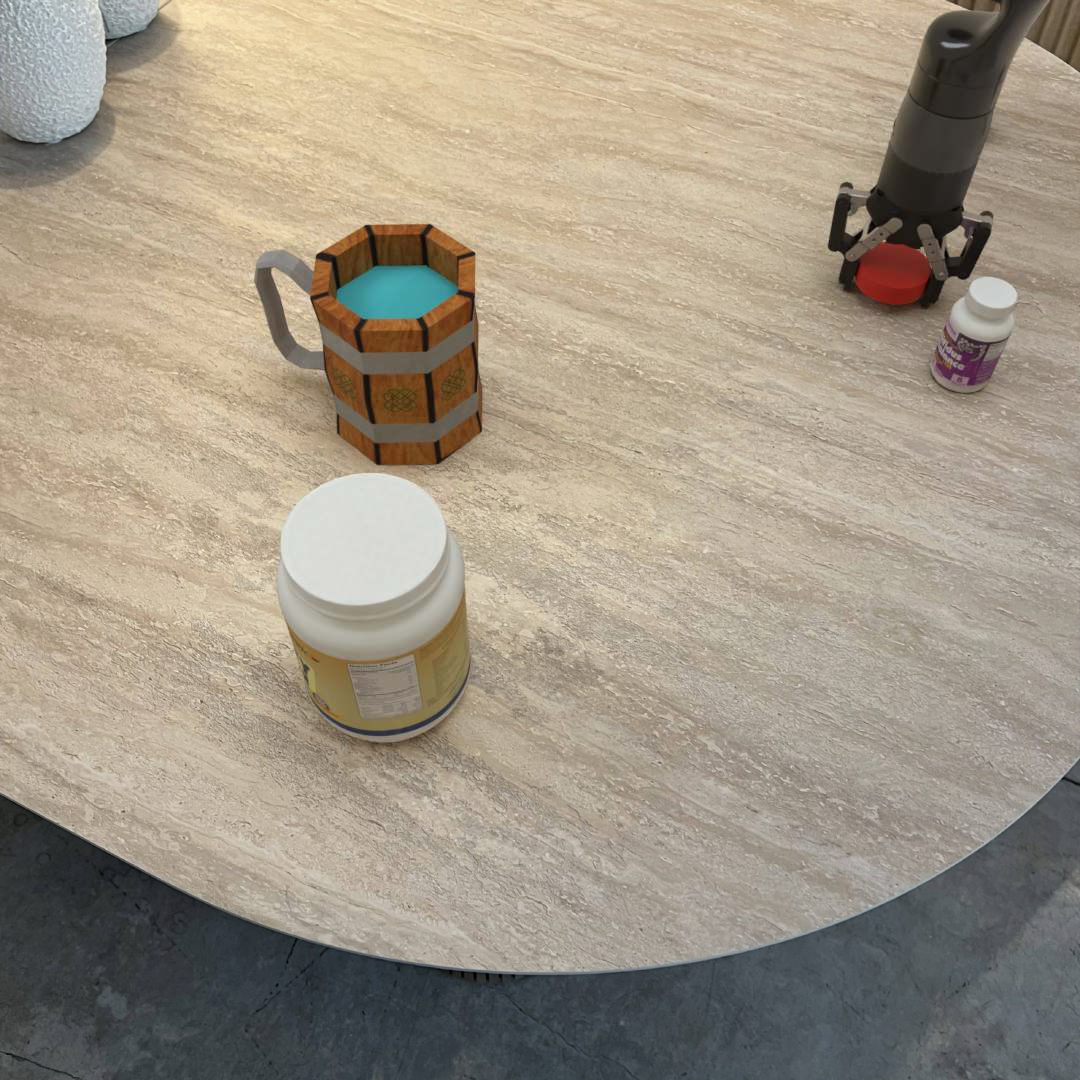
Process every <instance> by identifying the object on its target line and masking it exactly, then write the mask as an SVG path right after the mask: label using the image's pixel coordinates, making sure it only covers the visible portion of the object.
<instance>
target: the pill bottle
mask: <svg viewBox="0 0 1080 1080" xmlns="http://www.w3.org/2000/svg"><path fill="white" fill-rule="evenodd" d="M1017 301H1018V292H1017V291H1016V289H1015V287H1014V286H1013V285H1012V284H1011V283H1009V282H1007V281H1006V280H1003V279H1002V278H998V277H995V276H982V277H978V278H976V279H973V281H972V282H971V283H970V284H969V286H968V288H967V290H966V293H965V295H964V296H962V297H960V298H959V299H958V300H957V301H956V302H955V303H954V304H953V306H952V308H951V309H950V312H949V315H948V317H947V319H946V322H945V325H944V327H943V330H942V333H941V335H940V337H939V340H938V343H937V345H936V347H935V349H934V354H933V355H932V358H931V361H930V372H931V374H932V376H933V378H934V379H935V381H936V382H937V383H938V384H940V385H941V386H942V387H943V388H945V389H947V390H949V391H952V392H955V393H961V394H968V393H974V392H977V391H980V390H982V389H984V388H985V387H986V386H987V384H988V383H989V382H990V380H991V378H992V376H993V374H994V371H995V369H996V367H997V365H998V363H999V361H1000V359H1001V356H1002V354H1003V352H1004V350H1005V348H1006V345H1007V343H1008V341H1009V339H1010V338H1011V335H1012V333H1013V330H1014V327H1015V323H1016V321H1015V315H1014V309H1015V306H1016V304H1017Z"/></svg>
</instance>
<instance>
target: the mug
mask: <svg viewBox="0 0 1080 1080" xmlns="http://www.w3.org/2000/svg"><path fill="white" fill-rule="evenodd" d="M313 266H314V267H313V269H312V268H311V267H310V266H309V265H308V264H307V263H306V262H304V260H302V258H300V257H298V256H296V255H295V254H293V253H291V252H290V251H288V250H286V249H283V248H282V249H275V250H268V251H264V252H263V253H262V254H260V255H259V257H258V258H257V261H256V263H255V270H254V279H253V282H254V285H255V288H256V291H257V293H258V296H259V299H260V302H261V304H262V308H263V311H264V315H265V319H266V323H267V326H268V329H269V332H270V335H271V339H272V342H273V344H274V345H275V346H276V348H277V349H278V351H279V353H280V354H281V355H282V356H283V358H284V359H285V360H286V361H288V362H289V363H291V364H292V365H295V366H296V367H298V368H300V369H306V370H317V371H324V373H325V375H326V378H327V381H328V385H329V387H330V390H331V393H332V397H333V403H334V408H335V412H336V434H337V435H338V436H339V437H340V438H342V439H343V440H344V441H346V442H347V443H348V444H350V445H351V446H352V447H354V448H355V449H356V450H357V451H359V452H360V453H361V454H362V455H364V456H365V457H366V458H368V459H369V460H370V461H372V462H373V463H374V464H375V465H376V466H385V465H386V466H388V465H389V466H392V465H393V466H395V465H397V466H398V465H440V463H442V462H443V461H445V460H446V459H447V458H448V457H450V456H451V455H452V454H454V453H455V452H457V451H458V450H459V449H460V448H462V447H463V446H464V445H466V444H467V443H469V442H470V441H471V440H472V439H474V438H476V437H477V436H478V435H479V434H480V433H482V432H483V386H482V385H483V384H482V380H481V376H480V371H479V320H478V315H477V313H478V312H477V307H476V301H475V300H476V252H475V251H474V250H472V249H471V248H469V247H467V246H466V245H464V244H463V243H461V242H459V241H458V240H456V239H455V238H453V237H452V236H450V235H449V234H447V233H445V232H444V231H442V230H440V229H439V228H437V227H436V226H434V225H433V224H431V223H401V224H400V223H398V224H397V223H396V224H395V223H392V224H391V223H390V224H389V223H388V224H364V225H363V226H362V227H360V228H358V229H356V230H355V231H353V232H350V233H349V234H348V235H346V236H345V237H343V238H341V239H339V240H338V241H336V242H334V243H333V244H331V245H329V246H328V247H326V248H324V249H322V250H321V251H320V252H317V253H316V254H315V259H314V265H313ZM272 269H276V270H277V271H280V272H281V273H283V274H284V275H286V276H288V277H289V278H290V279H291V280H292V281H293V282H294V283H295V284H296V285H297V286H298V287H299V288H300V289H301V290H302V291H304V292H305V293H306V294H307V295H309V300H310V303H311V307H312V308H313V311H314V314H315V317H316V320H317V322H318V327H319V332H320V338H321V342H322V350H315V351H314V350H313V351H311V350H309V349H307V348H306V347H304V346H302V345H301V344H299V343H298V342H297V341H296V340H295V338H294V336H293V335H292V332H291V331H290V330H289V325H288V322H287V318H286V314H285V310H284V305H283V302H282V301H283V300H282V297H281V295H280V293H279V290H278V287H277V285H276V282H275V280H274V276H273V273H272V271H273V270H272Z"/></svg>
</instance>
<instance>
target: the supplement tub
mask: <svg viewBox="0 0 1080 1080" xmlns="http://www.w3.org/2000/svg"><path fill="white" fill-rule="evenodd" d="M279 548H280V556H281V557H280V560H279V562H278V567H277V573H276V593H277V601H278V605H279V608H280V610H281V613H282V615H283V618H284V621H285V624H286V628H287V630H288V633H289V637H290V640H291V643H292V646H293V649H294V652H295V655H296V659H297V663H298V665H299V669H300V672H301V676H302V679H303V682H304V683H303V684H304V687H305V691H306V694H307V697H308V699H309V700H310V702H311V704H312V706H313V707H314V708H315V710H316V712H318V713H319V715H320V716H321V717H322V718H324V720H325V721H326V722H327V723H329V724H330V725H331V726H333V727H334V728H335V729H336V730H338V731H340V732H341V733H344V734H346V735H348V736H350V737H353V738H355V739H359V740H363V741H368V742H373V743H374V742H375V743H396V742H401V741H405V740H408V739H412V738H415V737H417V736H419V735H422V734H424V733H426V732H427V731H429V730H431V729H433V728H434V727H436V726H437V725H438V724H439V723H441V722H442V721H443V720H444V719H445V718H447V716H448V715H450V713H451V712H452V711H453V710H454V709H455V707H456V706H457V705H458V703H459V702H460V701H461V699H462V697H463V695H464V693H465V691H466V689H467V685H468V683H469V680H470V676H471V671H472V650H471V646H470V645H471V644H470V636H469V635H470V634H469V622H468V610H467V598H466V597H467V596H466V584H465V583H466V567H465V561H464V557H463V553H462V551H461V547H460V545H459V543H458V541H457V539H456V537H455V535H454V533H453V532H452V530H451V529H450V528H449V527H448V525H447V523H446V519H445V517H444V514H443V512H442V509H441V507H440V506H439V505H438V503H437V502H436V500H435V499H434V498H433V497H432V496H431V494H429V493H428V492H427V491H426V490H425V489H423V488H422V487H420V486H419V485H418V484H415V483H414V482H412V481H410V480H408V479H405V478H402V477H400V476H396V475H392V474H387V473H381V472H362V473H360V472H359V473H353V474H348V475H343V476H339V477H337V478H333V479H331V480H329V481H327V482H324V483H322V484H321V485H319V486H316V488H314V489H312V490H311V491H310V492H309V493H307V494H306V495H305V496H303V498H301V499H300V500H299V501H298V502H297V503H296V504H295V506H294V507H293V508H292V510H291V511H290V512H289V514H288V516H287V518H286V520H285V521H284V524H283V527H282V530H281V534H280V541H279Z"/></svg>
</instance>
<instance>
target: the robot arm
mask: <svg viewBox="0 0 1080 1080" xmlns="http://www.w3.org/2000/svg"><path fill="white" fill-rule="evenodd" d="M989 1H990V2H993V3H995V4H997V5H999V7H998V11H984V10H970V9H969V10H966V9H960V10H951V11H947V12H944V13H942V14H940V15H938V16H937V17H936V18H935V19H933V20H932V22H930V24H929V25H928V27H927V29H926V31H925V33H924V35H923V39H922V40H921V44H920V48H919V52H918V54H917V55H918V56H917V59H916V61H915V65H914V70H913V72H912V75H911V78H910V82H909V86H908V88H907V90H906V93H905V95H904V97H903V99H902V102H901V104H900V107H899V109H898V112H897V113H896V118H895V119H894V122H893V125H892V126H893V127H892V132H891V135H890V139H889V142H888V145H887V149H886V152H885V155H884V158H883V162H882V165H881V169H880V172H879V175H878V179H877V181H876V184H875V185H874V186H873V187H872V188H871V189H870V190H869V191H868V190H863V189H862V190H861V189H854V185H853V183H851V182H849V181H844V182H842V183H841V184H840V185H839V188H838V191H837V196H836V200H835V204H834V208H833V213H832V220H831V225H830V230H829V236H828V242H827V249H828V250H829V251H830V252H832V253H837V252H839V253H840V254H842V256H843V261H842V264H841V267H840V271H839V275H838V284H840V285H843V289H842V291H844V292H845V291H846V292H851V290H852V287H853V283H854V281H855V274H856V270H857V267H858V264H859V260H860V257H861V256H862V255H863V254H865V253H866V252H867V251H868V250H873V249H874V248H875V247H876V246H877V245H879V244H880V243H881V242H886V243H890V244H903V245H906V246H908V247H910V248H913V249H917V250H918V251H920V250H921V248H923V250H924V254H925V256H926V258H927V260H928V262H929V263H930V265H931V275H930V278H929V281H928V283H927V286H926V289H925V291H924V293H923V295H922V296H921V297H920V302H919V308H922V309H925V310H926V309H928V307H929V305H935V304H937V302H938V301H939V298H940V295H941V293H942V290H943V289H944V288H943V287H944V285H945V282H946V281H947V280H948V279H949V278H955V277H956V278H957V279H958V280H961V281H962V280H963V281H964V280H968V279H970V277H971V275H972V273H973V271H974V269H975V266H976V265H977V263H978V261H979V259H980V256H981V255H982V252H983V251H984V249H985V247H986V245H987V243H988V241H989V239H990V237H991V235H992V229H993V224H994V223H993V222H994V213H993V212H992V211H991V210H983V211H981V212H980V213H979V214H977V213H974V212H969V211H966V210H965V207H964V201H965V198H966V195H967V192H968V189H969V188H970V184H971V181H972V179H973V177H974V173H975V171H976V169H977V166H978V163H979V161H980V157H981V154H982V152H983V149H984V146H985V144H986V142H987V139H988V137H989V133H990V129H991V126H992V121H993V116H994V112H995V109H996V106H997V102H998V99H999V97H1000V95H1001V91H1002V89H1003V86H1004V83H1005V81H1006V78H1007V75H1008V72H1009V69H1010V68H1011V65H1012V62H1013V60H1014V58H1015V57H1016V55H1017V52H1018V50H1019V49H1020V46H1021V45H1022V43H1023V41H1024V40H1025V38H1026V36H1027V35H1028V33H1029V31H1030V30H1031V28H1032V26H1033V25H1034V23H1036V21H1037V19H1038V17H1039V16H1040V15H1041V13H1043V11H1044V10H1045V8H1046V7H1047V5H1048V4H1049V2H1050V1H1051V0H989ZM861 207H865V208H866V211H867V213H868V215H869V218H868V219H867V220H866V222H865V223H864V224H863V225H862V227H860V229H858V230H856V232H855V233H854V234H851V233H848V232H846V230H847V229H846V228H847V223H848V218H849V217H851V216H853V215H855V214H856V213H857V212H858V211H859V209H860V208H861ZM959 227H962V228H963V229H964V232H963V236H964V238H965V239H966V241H965V243H964V245H963V248H962V250H961V252H960V254H959V256H956V255H955V256H951V253H950V250H949V247H948V243H947V235H949V234H950V233H952V232H953V231H955V230H956V229H958V228H959Z"/></svg>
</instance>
